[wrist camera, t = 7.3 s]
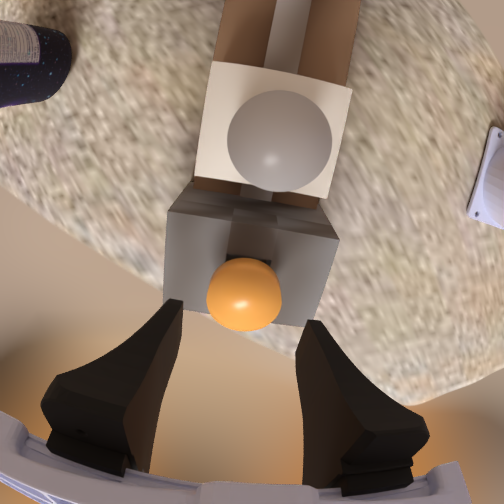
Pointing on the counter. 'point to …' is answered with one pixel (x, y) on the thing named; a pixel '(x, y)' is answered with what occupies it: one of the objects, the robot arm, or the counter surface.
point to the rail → (249, 196)
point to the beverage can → (31, 63)
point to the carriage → (271, 129)
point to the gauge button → (244, 294)
